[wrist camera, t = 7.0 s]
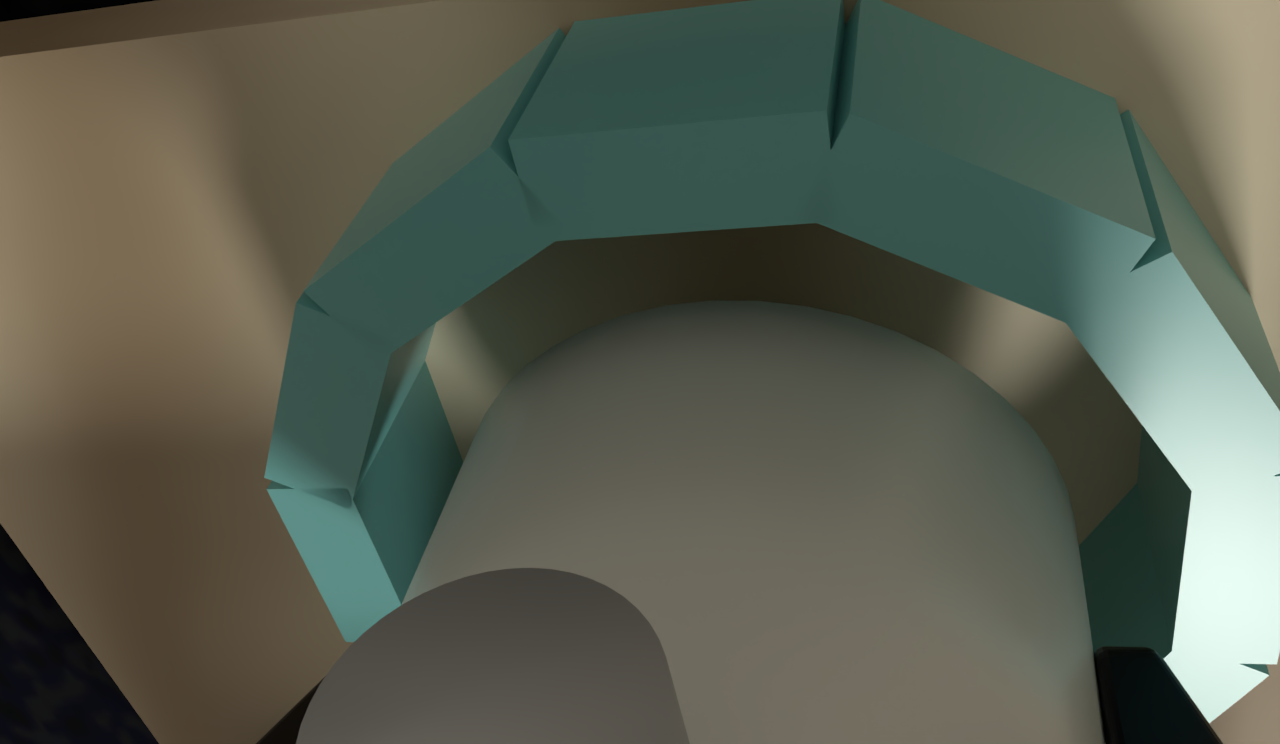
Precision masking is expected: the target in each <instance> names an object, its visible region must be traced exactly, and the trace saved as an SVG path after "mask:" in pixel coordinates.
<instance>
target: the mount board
mask: <svg viewBox="0 0 1280 744" xmlns="http://www.w3.org/2000/svg"><path fill="white" fill-rule="evenodd" d="M742 1H750V0H156V1H149V2H142V3H134V4H127V5H120V6H113V7H105V8H98V9H91V10H83V11H76V12H69V13H62V14H54V15H47V16H40V17H32V18H25V19H18V20H11V21H3V22H0V523H1V525H2V526H3V527H4V529H5V530H6V532H7V533H8V534H9V536H10V537H11V539H12V540H13V541H14V543H15V544H16V545H17V547H18V548H19V550H20V551H21V552H22V554H23V555H24V557H25V558H26V559H27V561H28V562H29V564H30V565H31V566H32V568H33V569H34V570H35V572H36V573H37V575H38V576H39V577H40V579H41V580H42V582H43V583H44V584H45V586H46V587H47V589H48V590H49V591H50V593H51V594H52V595H53V597H54V598H55V600H56V601H57V602H58V604H59V605H60V607H61V608H62V609H63V611H64V612H65V613H66V615H67V616H68V618H69V619H70V620H71V622H72V623H73V625H74V626H75V627H76V629H77V630H78V632H79V633H80V634H81V636H82V637H83V638H84V640H85V641H86V643H87V644H88V645H89V647H90V648H91V650H92V651H93V652H94V654H95V655H96V657H97V658H98V659H99V661H100V662H101V663H102V665H103V666H104V668H105V669H106V670H107V672H108V673H109V675H110V676H111V677H112V679H113V680H114V682H115V683H116V684H117V686H118V687H119V688H120V690H121V691H122V693H123V694H124V695H125V697H126V698H127V700H128V701H129V702H130V704H131V705H132V706H133V708H134V709H135V711H136V712H137V713H138V715H139V716H140V718H141V719H142V720H143V722H144V723H145V725H146V726H147V727H148V729H149V730H150V731H151V733H152V734H153V736H154V737H155V738H156V740H157V741H158V743H159V744H255V743H257V742H258V741H259V740H260V739H261V738H262V737H263V736H264V735H265V734H266V733H267V732H268V731H269V730H270V729H271V728H272V727H273V726H274V725H275V724H276V723H277V722H278V721H279V720H280V719H281V718H282V717H283V716H284V715H285V714H287V713H288V712H289V711H290V710H291V709H292V708H293V707H294V706H295V705H296V704H297V703H298V702H299V701H300V700H301V699H302V698H303V697H304V696H305V695H306V694H307V693H308V692H309V691H310V690H311V689H312V688H313V687H314V686H315V685H317V684H318V683H319V682H320V681H321V680H322V679H323V678H324V677H325V676H326V675H327V674H328V672H329V671H330V669H331V668H332V666H333V665H334V664H335V663H336V662H337V660H338V659H339V658H340V657H341V656H342V655H343V653H344V652H345V651H346V650H347V649H348V648H349V647H350V646H351V645H352V644H353V643H354V642H345V640H344V638H343V636H342V634H341V632H340V630H339V628H338V626H337V624H336V622H335V620H334V619H333V617H332V615H331V613H330V611H329V609H328V607H327V605H326V603H325V601H324V599H323V597H322V595H321V593H320V592H319V590H318V588H317V586H316V584H315V582H314V580H313V578H312V576H311V574H310V572H309V570H308V568H307V566H306V565H305V563H304V561H303V559H302V557H301V555H300V553H299V551H298V549H297V547H296V545H295V543H294V541H293V540H292V538H291V536H290V534H289V532H288V530H287V528H286V526H285V524H284V522H283V520H282V518H281V516H280V514H279V513H278V511H277V509H276V507H275V505H274V503H273V501H272V499H271V497H270V495H269V493H268V491H267V488H268V486H269V484H270V483H271V481H272V480H269V479H266V478H264V476H265V471H266V465H267V460H268V454H269V449H270V443H271V438H272V432H273V427H274V421H275V415H276V410H277V404H278V399H279V393H280V388H281V382H282V377H283V371H284V366H285V360H286V355H287V349H288V344H289V338H290V333H291V327H292V322H293V316H294V310H295V305H296V302H297V301H298V299H299V298H300V296H301V295H302V293H303V291H304V289H305V288H306V286H307V285H308V283H309V282H310V281H311V279H312V278H313V276H314V275H315V273H316V272H317V271H318V269H319V268H320V266H321V265H322V263H323V262H324V261H325V259H326V258H327V256H328V255H329V253H330V252H331V251H332V249H333V248H334V246H335V245H336V243H337V242H338V241H339V239H340V238H341V236H342V235H343V233H344V232H345V231H346V229H347V228H348V226H349V225H350V223H351V222H352V220H353V219H354V218H355V216H356V215H357V213H358V212H359V210H360V209H361V208H362V206H363V205H364V203H365V202H366V200H367V199H368V198H369V196H370V195H371V193H372V192H373V190H374V189H375V188H376V186H377V185H378V183H379V182H380V180H381V179H382V178H383V176H384V175H385V173H386V172H387V170H388V169H389V168H390V166H391V165H392V163H394V162H395V161H396V160H397V159H399V158H400V157H401V156H402V155H403V154H405V153H406V152H407V151H408V150H410V149H411V148H412V147H413V146H415V145H416V144H417V143H418V142H419V141H421V140H422V139H423V138H424V137H426V136H427V135H428V134H429V133H431V132H432V131H433V130H434V129H435V128H437V127H438V126H439V125H440V124H442V123H443V122H444V121H445V120H446V119H448V118H449V117H450V116H451V115H453V114H454V113H455V112H456V111H458V110H459V109H460V108H461V107H462V106H464V105H465V104H466V103H467V102H469V101H470V100H471V99H472V98H474V97H475V96H476V95H477V94H478V93H480V92H481V91H482V90H483V89H485V88H486V87H487V86H488V85H490V84H491V83H492V82H493V81H494V80H496V79H497V78H498V77H499V76H501V75H502V74H503V73H504V72H505V71H507V70H508V69H509V68H510V67H512V66H513V65H514V64H515V63H517V62H518V61H519V60H520V59H521V58H523V57H524V56H525V55H526V54H528V53H529V52H530V51H531V50H533V49H534V48H535V47H536V46H537V45H539V44H540V43H541V42H542V41H544V40H545V39H546V38H547V37H548V36H550V35H551V34H552V33H553V32H555V31H556V30H557V29H558V28H559V29H560V30H561V31H562V32H563V33H564V34H565V35H566V36H567V34H568V33H569V31H570V29H571V27H572V25H573V24H574V22H575V21H582V20H591V19H599V18H608V17H616V16H624V15H633V14H641V13H650V12H658V11H666V10H675V9H683V8H692V7H700V6H708V5H717V4H725V3H733V2H742ZM857 1H858V0H843V5H844V16H845V25H846V23H847V21H848V19H849V17H850V15H851V13H852V11H853V9H854V7H855V5H856V3H857ZM881 1H884V2H886V3H889V4H891V5H893V6H896V7H898V8H901V9H903V10H905V11H908V12H910V13H913V14H915V15H917V16H920V17H922V18H924V19H927V20H929V21H932V22H934V23H936V24H939V25H941V26H944V27H946V28H948V29H951V30H953V31H956V32H958V33H960V34H963V35H965V36H968V37H970V38H972V39H975V40H977V41H979V42H982V43H984V44H987V45H989V46H991V47H994V48H996V49H999V50H1001V51H1003V52H1006V53H1008V54H1011V55H1013V56H1015V57H1018V58H1020V59H1022V60H1025V61H1027V62H1030V63H1032V64H1034V65H1037V66H1039V67H1042V68H1044V69H1046V70H1049V71H1051V72H1054V73H1056V74H1058V75H1061V76H1063V77H1066V78H1068V79H1070V80H1073V81H1075V82H1077V83H1080V84H1082V85H1085V86H1087V87H1089V88H1092V89H1094V90H1097V91H1099V92H1101V93H1104V94H1106V95H1109V96H1111V97H1113V98H1115V100H1116V103H1117V107H1118V110H1119V114H1121V113H1123V112H1125V111H1127V110H1130V112H1131V114H1132V115H1133V117H1134V118H1135V120H1136V121H1137V123H1138V124H1139V126H1140V127H1141V129H1142V130H1143V132H1144V133H1145V135H1146V137H1147V138H1148V140H1149V141H1150V143H1151V144H1152V146H1153V147H1154V149H1155V150H1156V152H1157V153H1158V155H1159V157H1160V158H1161V160H1162V161H1163V163H1164V164H1165V166H1166V167H1167V169H1168V170H1169V172H1170V173H1171V175H1172V176H1173V178H1174V180H1175V181H1176V183H1177V184H1178V186H1179V187H1180V189H1181V190H1182V192H1183V193H1184V195H1185V196H1186V198H1187V199H1188V201H1189V203H1190V204H1191V206H1192V207H1193V209H1194V210H1195V212H1196V213H1197V215H1198V216H1199V218H1200V219H1201V221H1202V223H1203V224H1204V226H1205V227H1206V229H1207V230H1208V232H1209V233H1210V235H1211V236H1212V238H1213V239H1214V241H1215V242H1216V244H1217V246H1218V247H1219V249H1220V250H1221V252H1222V253H1223V255H1224V256H1225V258H1226V259H1227V261H1228V262H1229V264H1230V266H1231V267H1232V269H1233V270H1234V272H1235V273H1236V275H1237V276H1238V278H1239V279H1240V281H1241V282H1242V284H1243V285H1244V287H1245V289H1246V290H1247V292H1248V293H1249V295H1250V296H1251V298H1252V300H1253V303H1254V306H1255V308H1256V311H1257V314H1258V316H1259V319H1260V321H1261V324H1262V327H1263V329H1264V332H1265V335H1266V337H1267V340H1268V343H1269V345H1270V348H1271V350H1272V353H1273V356H1274V358H1275V361H1276V364H1277V366H1278V369H1279V372H1280V0H881ZM702 301H764V302H773V303H783V304H792V305H801V306H807V307H812V308H816V309H821V310H825V311H830V312H834V313H839V314H843V315H848V316H852V317H855V318H858V319H861V320H864V321H867V322H870V323H873V324H876V325H879V326H882V327H885V328H888V329H891V330H894V331H896V332H898V333H900V334H903V335H905V336H907V337H909V338H911V339H913V340H916V341H918V342H920V343H922V344H924V345H926V346H928V347H931V348H933V349H935V350H937V351H939V352H940V353H942V354H943V355H945V356H947V357H948V358H950V359H952V360H953V361H955V362H956V363H958V364H960V365H961V366H963V367H964V368H966V369H968V370H969V371H971V372H973V373H974V374H975V375H977V376H978V377H979V378H980V379H982V380H983V381H984V382H985V383H986V384H988V385H989V386H990V387H991V388H993V389H994V390H995V391H996V392H998V393H999V394H1000V395H1001V396H1003V397H1004V398H1005V399H1006V400H1007V401H1008V402H1009V403H1010V404H1011V405H1012V406H1013V407H1014V408H1015V409H1016V411H1017V412H1018V413H1019V414H1020V415H1021V416H1022V417H1023V418H1024V419H1025V420H1026V421H1027V422H1028V423H1029V424H1030V425H1031V427H1032V428H1033V429H1034V431H1035V432H1036V433H1037V435H1038V436H1039V438H1040V439H1041V441H1042V442H1043V444H1044V445H1045V447H1046V448H1047V450H1048V451H1049V453H1050V454H1051V455H1052V457H1053V459H1054V461H1055V463H1056V465H1057V467H1058V470H1059V472H1060V474H1061V476H1062V478H1063V481H1064V483H1065V485H1066V487H1067V490H1068V494H1069V498H1070V502H1071V506H1072V510H1073V514H1074V518H1075V524H1076V531H1077V538H1078V545H1080V544H1081V543H1082V542H1083V541H1084V540H1085V539H1086V538H1087V536H1088V535H1089V534H1090V533H1091V532H1092V531H1093V530H1094V529H1095V528H1096V527H1097V526H1098V525H1099V524H1100V522H1101V521H1102V520H1103V519H1104V518H1105V517H1106V516H1107V515H1108V514H1109V513H1110V512H1111V511H1112V510H1113V508H1114V507H1115V506H1116V505H1117V504H1118V503H1119V502H1120V501H1121V500H1122V499H1123V498H1124V497H1125V496H1126V494H1127V493H1128V492H1129V491H1130V490H1131V489H1132V488H1133V487H1134V486H1135V485H1136V484H1137V479H1138V467H1139V456H1140V444H1141V433H1142V424H1141V423H1140V421H1139V420H1138V419H1137V417H1136V416H1135V415H1134V413H1133V412H1132V411H1131V409H1130V408H1129V407H1128V405H1127V404H1126V403H1125V401H1124V400H1123V399H1122V397H1121V396H1120V395H1119V393H1118V392H1117V391H1116V389H1115V388H1114V387H1113V385H1112V384H1111V383H1110V381H1109V380H1108V379H1107V377H1106V376H1105V375H1104V373H1103V372H1102V371H1101V369H1100V368H1099V367H1098V365H1097V364H1096V363H1095V361H1094V360H1093V359H1092V357H1091V356H1090V355H1089V353H1088V352H1087V351H1086V349H1085V348H1084V347H1083V345H1082V344H1081V343H1080V341H1079V340H1078V339H1077V337H1076V336H1075V335H1074V333H1073V332H1072V331H1071V329H1070V328H1069V327H1068V325H1067V324H1066V323H1065V322H1062V321H1060V320H1057V319H1055V318H1052V317H1050V316H1047V315H1045V314H1042V313H1040V312H1037V311H1035V310H1032V309H1030V308H1027V307H1025V306H1022V305H1020V304H1017V303H1015V302H1012V301H1010V300H1007V299H1005V298H1002V297H1000V296H997V295H995V294H992V293H990V292H987V291H985V290H983V289H980V288H978V287H975V286H973V285H970V284H968V283H965V282H963V281H960V280H958V279H955V278H953V277H950V276H948V275H945V274H943V273H940V272H938V271H935V270H933V269H930V268H928V267H925V266H923V265H920V264H918V263H915V262H913V261H910V260H908V259H905V258H903V257H900V256H898V255H895V254H893V253H890V252H888V251H885V250H883V249H880V248H878V247H875V246H873V245H870V244H868V243H865V242H863V241H860V240H858V239H855V238H853V237H850V236H848V235H845V234H843V233H840V232H838V231H836V230H833V229H831V228H828V227H826V226H823V225H821V224H818V223H809V224H795V225H780V226H766V227H751V228H737V229H722V230H708V231H694V232H679V233H665V234H650V235H636V236H621V237H607V238H592V239H578V240H564V241H555V242H553V243H552V244H550V245H549V246H548V247H546V248H545V249H543V250H542V251H540V252H539V253H537V254H536V255H534V256H533V257H531V258H530V259H529V260H527V261H526V262H524V263H523V264H521V265H520V266H518V267H517V268H515V269H514V270H512V271H511V272H509V273H508V274H507V275H505V276H504V277H502V278H501V279H499V280H498V281H496V282H495V283H493V284H492V285H490V286H489V287H487V288H486V289H485V290H483V291H482V292H480V293H479V294H477V295H476V296H474V297H473V298H471V299H470V300H468V301H467V302H466V303H464V304H463V305H461V306H460V307H458V308H457V309H455V310H454V311H452V312H451V313H449V314H448V315H446V316H445V317H444V318H442V319H441V320H439V321H438V322H436V324H435V328H434V331H433V335H432V338H431V342H430V345H429V349H428V352H427V356H426V359H425V361H426V364H427V367H428V369H429V372H430V375H431V377H432V380H433V383H434V385H435V388H436V391H437V393H438V396H439V399H440V401H441V404H442V407H443V409H444V412H445V415H446V417H447V420H448V423H449V425H450V428H451V431H452V433H453V436H454V439H455V441H456V444H457V447H458V449H459V452H460V455H461V457H462V460H463V462H464V460H465V457H466V455H467V453H468V450H469V448H470V446H471V444H472V441H473V439H474V437H475V435H476V432H477V430H478V428H479V426H480V424H481V422H482V419H483V417H484V415H485V413H486V412H487V410H488V409H489V408H490V406H491V405H492V403H493V402H494V400H495V399H496V398H497V396H498V395H499V393H500V392H501V390H502V389H503V388H504V387H505V386H506V385H507V384H508V383H509V382H510V381H511V380H512V379H513V378H514V377H515V376H516V375H517V374H518V373H519V372H520V371H521V370H522V369H523V368H524V367H525V366H526V365H528V364H529V363H531V362H532V361H533V360H535V359H536V358H537V357H539V356H540V355H542V354H543V353H544V352H546V351H547V350H548V349H550V348H551V347H553V346H554V345H556V344H558V343H560V342H562V341H564V340H566V339H568V338H570V337H571V336H573V335H575V334H577V333H579V332H581V331H583V330H585V329H587V328H590V327H592V326H595V325H598V324H601V323H603V322H606V321H609V320H612V319H614V318H617V317H620V316H623V315H626V314H630V313H635V312H639V311H644V310H648V309H653V308H657V307H661V306H666V305H674V304H684V303H693V302H702ZM1267 668H1268V671H1269V676H1268V677H1267V678H1266V679H1264V680H1263V681H1262V682H1261V683H1259V684H1258V685H1257V686H1256V687H1254V688H1253V689H1252V690H1251V691H1249V692H1248V693H1247V694H1246V695H1244V696H1243V697H1242V698H1241V699H1239V700H1238V701H1237V702H1236V703H1234V704H1233V705H1232V706H1231V707H1229V708H1228V709H1227V710H1226V711H1224V712H1223V713H1222V714H1221V715H1219V716H1218V717H1217V718H1216V719H1214V720H1213V721H1212V722H1211V723H1209V724H1210V725H1211V727H1212V728H1213V729H1214V731H1215V732H1216V734H1217V735H1218V737H1219V738H1220V739H1221V741H1222V742H1223V744H1280V652H1279V657H1278V662H1277V664H1267Z"/></svg>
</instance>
